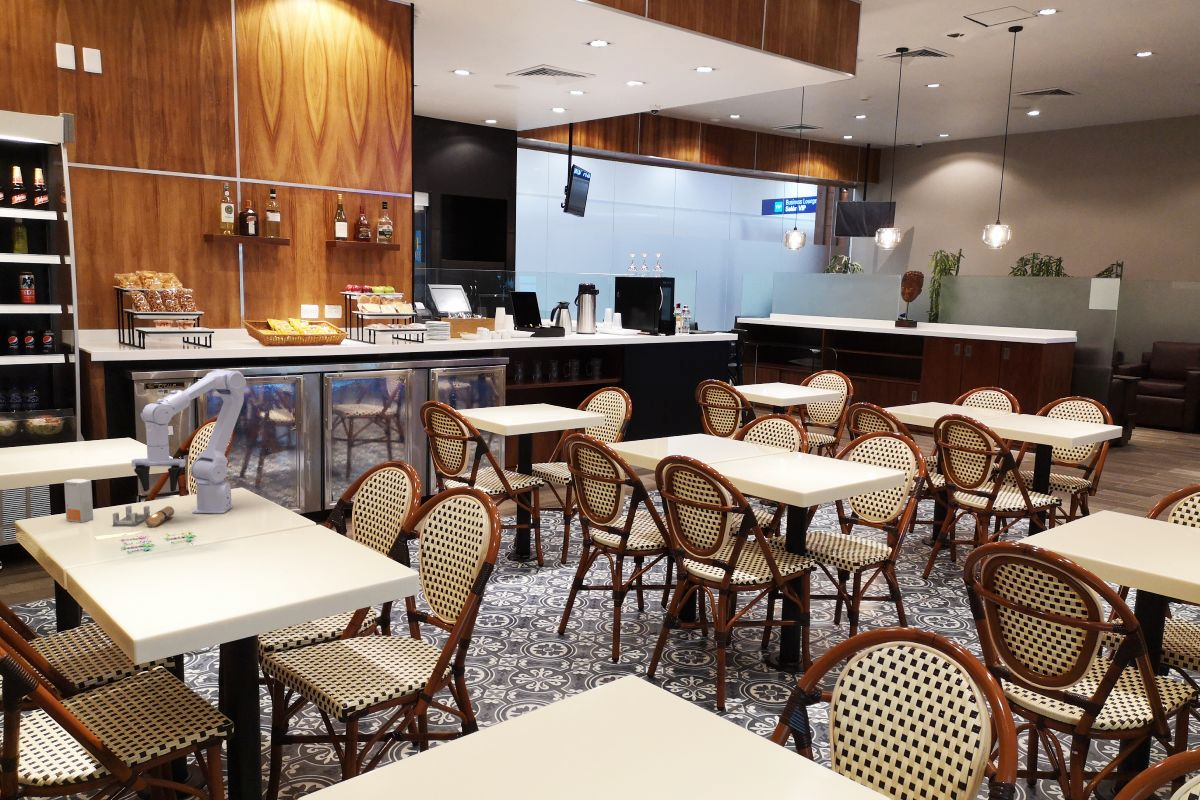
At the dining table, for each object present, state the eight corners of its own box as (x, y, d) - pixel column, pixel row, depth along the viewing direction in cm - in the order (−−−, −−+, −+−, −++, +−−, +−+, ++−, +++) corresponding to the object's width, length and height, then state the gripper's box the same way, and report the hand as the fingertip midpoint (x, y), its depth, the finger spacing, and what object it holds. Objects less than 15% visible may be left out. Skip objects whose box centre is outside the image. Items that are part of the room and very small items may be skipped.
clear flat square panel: (212, 523, 264) (211, 519, 264) (232, 552, 239) (232, 547, 239) (95, 537, 248) (95, 532, 248) (104, 569, 223) (103, 564, 223)
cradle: (150, 517, 269) (149, 505, 268) (135, 526, 259) (134, 514, 258) (128, 517, 268) (128, 505, 268) (113, 526, 258) (112, 514, 258)
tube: (164, 517, 270) (162, 507, 269) (175, 515, 270) (173, 505, 270) (147, 528, 258) (144, 517, 258) (158, 526, 258) (155, 515, 258)
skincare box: (65, 521, 263) (63, 481, 261) (77, 517, 267) (75, 478, 265) (82, 523, 261) (79, 482, 260) (94, 519, 265) (91, 479, 264)
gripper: (125, 447, 257) (128, 493, 258) (177, 447, 257) (179, 494, 259) (137, 442, 264) (139, 488, 265) (187, 443, 264) (189, 488, 266)
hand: (159, 490), depth 263 cm, fingers open, 7 cm apart
